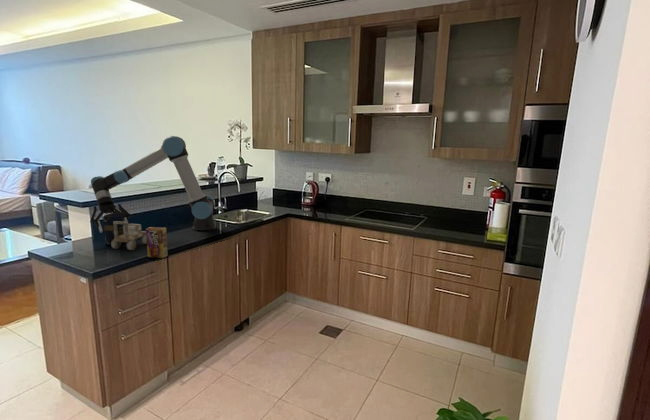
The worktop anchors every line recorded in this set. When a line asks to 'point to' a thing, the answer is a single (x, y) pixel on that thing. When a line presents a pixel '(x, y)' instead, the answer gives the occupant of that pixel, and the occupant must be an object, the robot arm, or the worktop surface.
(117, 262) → the worktop surface
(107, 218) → the canister
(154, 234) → the candy box
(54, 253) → the worktop surface
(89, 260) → the worktop surface
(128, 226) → the wooden toy truck
